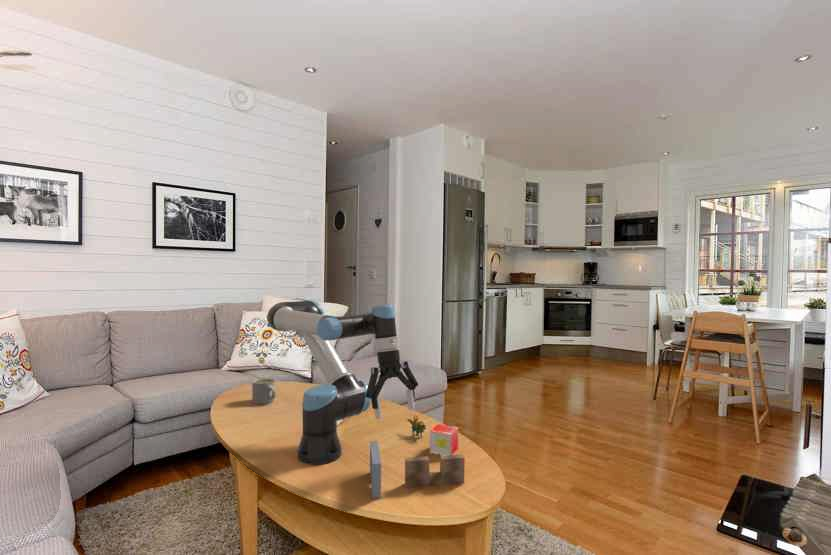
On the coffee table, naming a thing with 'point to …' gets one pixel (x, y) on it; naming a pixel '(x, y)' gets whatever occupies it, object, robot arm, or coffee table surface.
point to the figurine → (417, 426)
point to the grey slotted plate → (375, 469)
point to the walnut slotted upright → (421, 476)
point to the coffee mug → (263, 391)
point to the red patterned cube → (443, 439)
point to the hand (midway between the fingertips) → (395, 413)
